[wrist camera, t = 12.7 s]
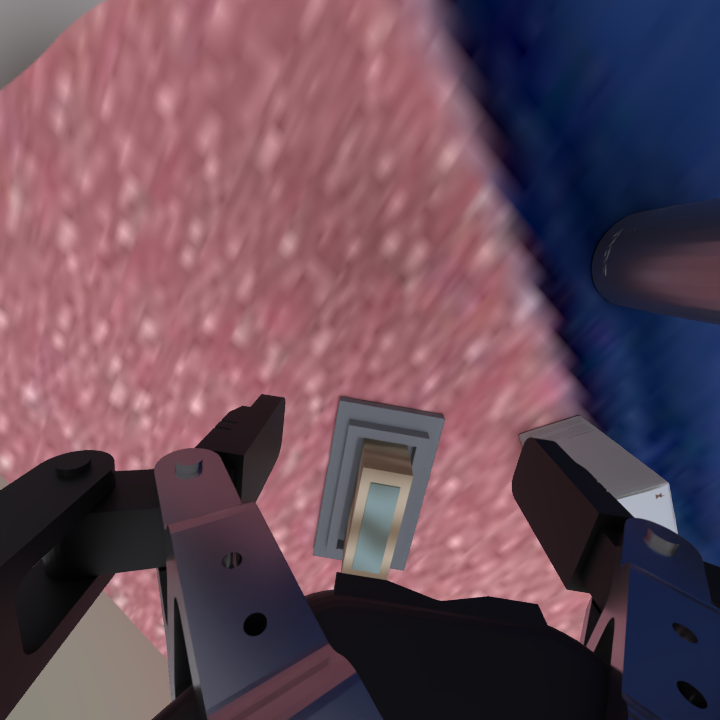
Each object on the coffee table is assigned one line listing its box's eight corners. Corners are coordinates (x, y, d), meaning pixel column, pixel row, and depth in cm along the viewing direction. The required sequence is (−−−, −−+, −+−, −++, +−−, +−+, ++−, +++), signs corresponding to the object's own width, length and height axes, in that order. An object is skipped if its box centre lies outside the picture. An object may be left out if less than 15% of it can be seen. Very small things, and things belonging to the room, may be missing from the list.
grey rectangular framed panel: (340, 396, 40) (338, 405, 37) (442, 414, 40) (447, 425, 37) (314, 547, 46) (311, 565, 43) (403, 562, 46) (404, 581, 43)
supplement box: (516, 433, 40) (578, 508, 28) (580, 413, 39) (674, 482, 27) (530, 484, 42) (595, 575, 30) (592, 466, 41) (685, 553, 29)
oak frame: (364, 437, 40) (363, 468, 34) (407, 444, 40) (413, 477, 34) (344, 534, 44) (340, 578, 38) (383, 541, 44) (385, 585, 38)
